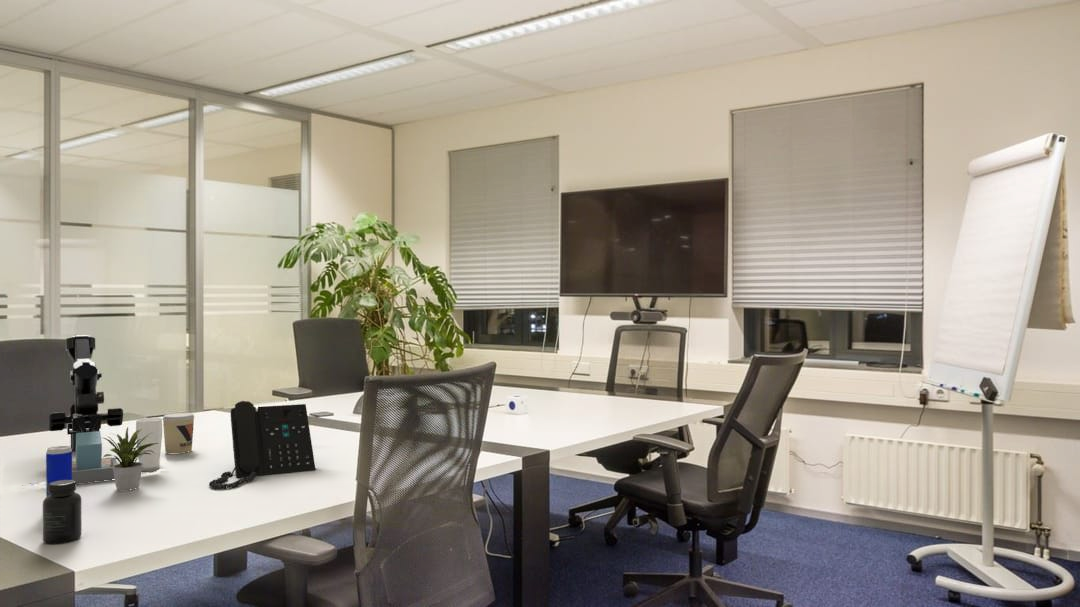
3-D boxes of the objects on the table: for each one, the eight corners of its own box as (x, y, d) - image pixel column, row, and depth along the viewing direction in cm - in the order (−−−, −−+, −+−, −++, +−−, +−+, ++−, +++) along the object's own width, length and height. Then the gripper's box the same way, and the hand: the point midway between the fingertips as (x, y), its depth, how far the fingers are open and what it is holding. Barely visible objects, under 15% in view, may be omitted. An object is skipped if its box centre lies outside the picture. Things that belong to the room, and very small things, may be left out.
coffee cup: (181, 455, 240) (181, 417, 240) (156, 453, 242) (156, 416, 242) (200, 449, 249) (200, 413, 249) (175, 448, 251) (175, 412, 251)
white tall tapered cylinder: (167, 469, 220) (167, 418, 220) (148, 474, 214) (148, 422, 214) (149, 467, 223) (149, 417, 223) (130, 472, 216) (130, 420, 216)
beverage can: (54, 508, 180) (53, 445, 180) (76, 507, 181) (76, 445, 180) (41, 514, 175) (41, 450, 175) (64, 513, 176) (64, 449, 175)
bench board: (60, 467, 222) (60, 462, 222) (111, 462, 230) (111, 457, 230) (62, 475, 213) (62, 469, 213) (114, 469, 220) (114, 464, 220)
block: (75, 460, 218) (76, 433, 216) (99, 457, 222) (100, 431, 219) (76, 473, 213) (77, 445, 210) (101, 470, 216) (101, 443, 214)
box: (61, 475, 213) (61, 463, 213) (114, 469, 220) (114, 457, 220) (63, 486, 201) (62, 473, 201) (119, 479, 208) (119, 466, 208)
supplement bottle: (59, 533, 161) (58, 478, 161) (89, 534, 160) (88, 478, 160) (34, 544, 154) (34, 486, 154) (65, 545, 154) (65, 486, 153)
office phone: (210, 492, 196) (209, 415, 196) (201, 469, 221) (201, 401, 221) (324, 479, 210) (323, 407, 210) (304, 459, 235) (304, 395, 235)
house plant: (111, 499, 188) (110, 434, 187) (82, 492, 195) (81, 429, 195) (165, 487, 200) (165, 426, 200) (136, 480, 207) (136, 421, 207)
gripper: (49, 385, 218) (49, 428, 209) (122, 381, 228) (126, 422, 219) (48, 409, 224) (49, 452, 215) (120, 404, 235) (123, 445, 226)
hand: (87, 442), depth 219 cm, fingers closed
